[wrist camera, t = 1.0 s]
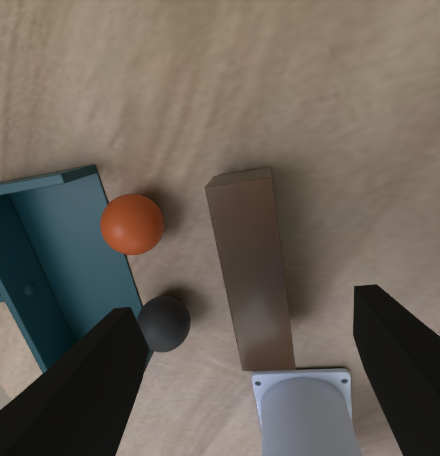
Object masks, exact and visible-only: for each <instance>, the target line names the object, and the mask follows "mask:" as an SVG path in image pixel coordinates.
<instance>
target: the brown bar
mask: <svg viewBox="0 0 440 456" xmlns="http://www.w3.org/2000/svg"><path fill="white" fill-rule="evenodd" d="M205 191H206V196H207V201H208V205H209V210H210V215H211V220H212V225H213V230H214V234H215V239H216V244H217V249H218V254H219V259H220V263H221V268H222V273H223V278H224V283H225V288H226V292H227V297H228V302H229V307H230V312H231V317H232V321H233V326H234V331H235V336H236V341H237V346H238V350H239V355H240V360H241V365H242V370H243V371H260V370H289V369H296V368H295V359H294V351H293V343H292V335H291V327H290V319H289V310H288V302H287V294H286V286H285V278H284V270H283V262H282V253H281V245H280V237H279V229H278V221H277V213H276V204H275V196H274V188H273V180H272V175H271V171H270V167H263V168H257V169H251V170H245V171H239V172H233V173H226V174H220V175H218V176H214V177H213V178H212V179H211V181H210V182H209V183H208V184H207V186H206V187H205Z"/></svg>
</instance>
